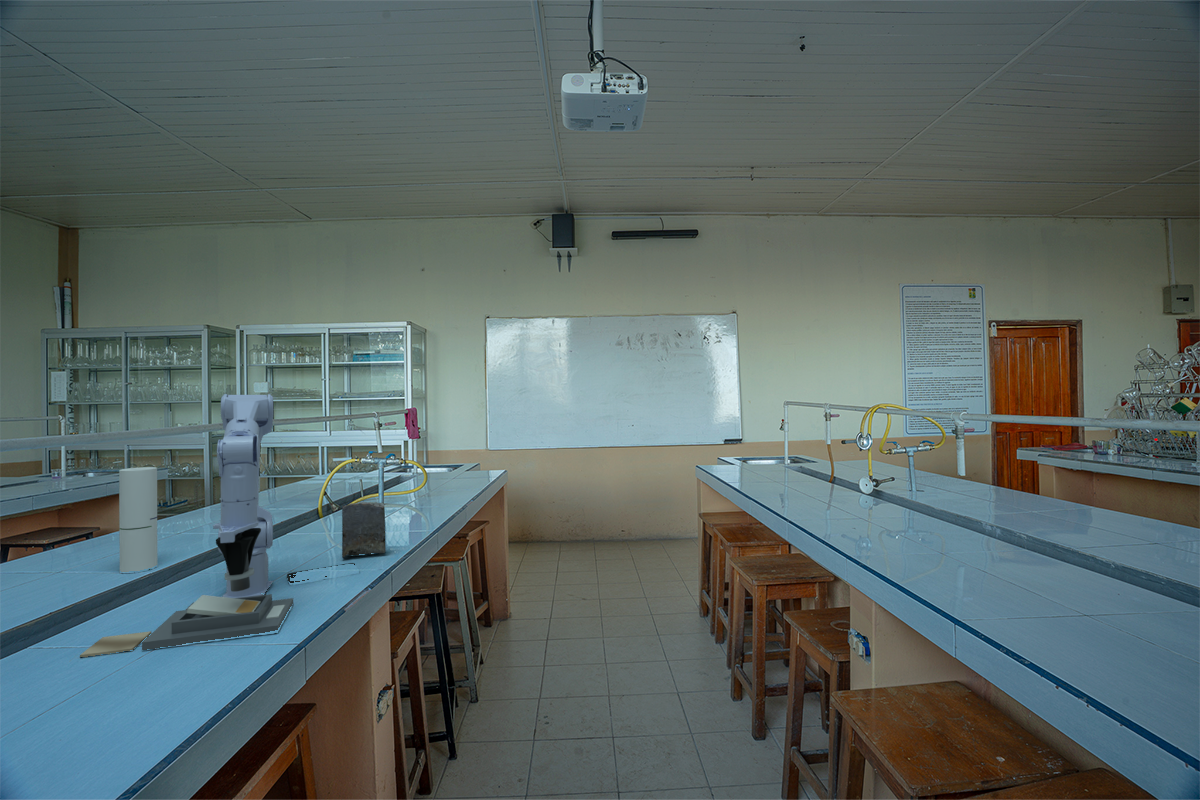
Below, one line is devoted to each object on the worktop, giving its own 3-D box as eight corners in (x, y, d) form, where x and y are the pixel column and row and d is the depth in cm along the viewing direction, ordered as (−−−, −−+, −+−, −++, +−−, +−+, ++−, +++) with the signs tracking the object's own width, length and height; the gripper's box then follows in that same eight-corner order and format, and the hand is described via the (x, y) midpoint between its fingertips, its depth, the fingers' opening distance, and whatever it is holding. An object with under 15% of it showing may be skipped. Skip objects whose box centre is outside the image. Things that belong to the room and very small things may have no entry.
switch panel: (176, 618, 103) (176, 600, 103) (293, 605, 110) (293, 588, 110) (141, 651, 90) (141, 630, 90) (277, 633, 97) (277, 614, 97)
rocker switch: (201, 599, 102) (202, 594, 102) (260, 605, 105) (261, 600, 105) (186, 613, 95) (188, 608, 95) (250, 619, 98) (251, 614, 99)
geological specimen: (385, 551, 149) (385, 497, 149) (385, 557, 143) (385, 501, 143) (342, 555, 145) (342, 500, 144) (341, 562, 139) (341, 504, 139)
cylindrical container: (164, 564, 137) (164, 467, 137) (141, 573, 130) (141, 470, 129) (136, 564, 137) (135, 467, 136) (111, 574, 129) (111, 471, 129)
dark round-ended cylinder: (231, 585, 103) (228, 539, 102) (258, 582, 104) (255, 536, 104) (221, 594, 98) (218, 546, 98) (249, 591, 99) (246, 543, 99)
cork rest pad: (102, 639, 94) (102, 637, 94) (151, 634, 97) (151, 631, 97) (79, 658, 88) (79, 655, 88) (132, 651, 90) (132, 648, 90)
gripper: (226, 494, 106) (226, 562, 106) (199, 508, 93) (199, 586, 93) (267, 491, 109) (267, 558, 109) (247, 505, 95) (247, 582, 95)
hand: (239, 571), depth 101 cm, fingers closed on dark round-ended cylinder, 3 cm apart
